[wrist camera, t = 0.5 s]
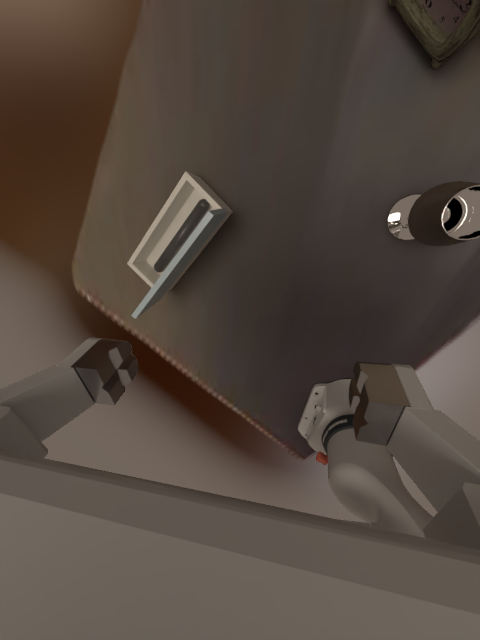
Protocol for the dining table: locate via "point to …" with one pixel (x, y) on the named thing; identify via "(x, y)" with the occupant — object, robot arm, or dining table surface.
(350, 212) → the dining table surface
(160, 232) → the white open box
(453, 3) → the tabletop clock
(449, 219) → the wineglass
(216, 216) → the panel
